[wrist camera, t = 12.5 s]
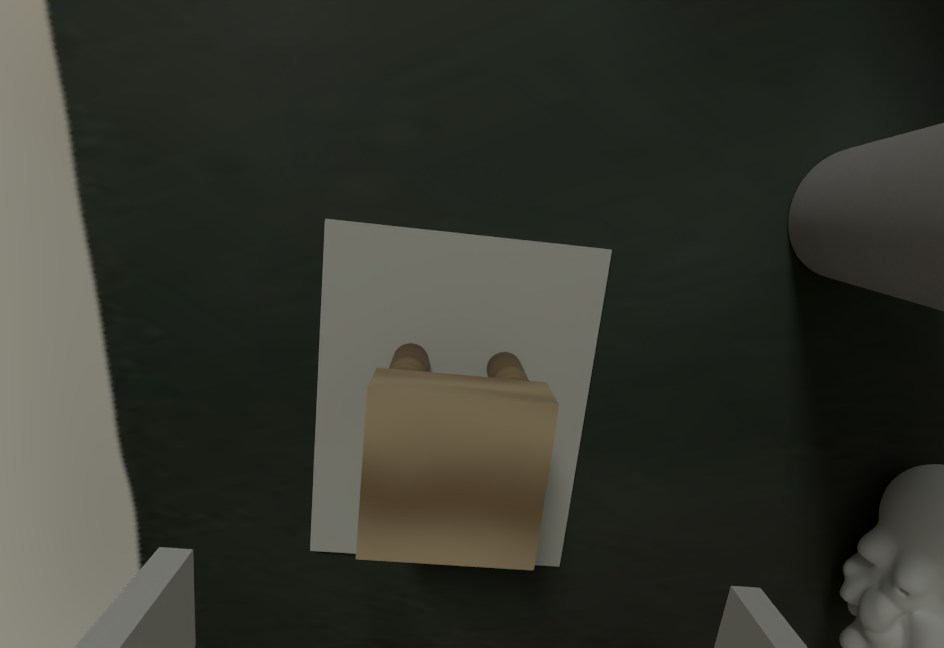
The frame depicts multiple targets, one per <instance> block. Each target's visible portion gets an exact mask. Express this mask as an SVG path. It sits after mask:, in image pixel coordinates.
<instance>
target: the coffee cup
mask: <svg viewBox="0 0 944 648" xmlns="http://www.w3.org/2000/svg"><path fill="white" fill-rule="evenodd" d="M788 231H789V237H790V241H791V244H792V247H793V249H794V251H795V253H796V255H797V256H798V258H799V259H800V260H801V262H802V263H803V264H804V265H805V266H806V267H808V268H809V269H810V270H812V271H813V272H815V273H817V274H819V275H822V276H825V277H828V278H831V279H835V280H838V281H842V282H845V283H848V284H852V285H855V286H859V287H862V288H866V289H869V290H872V291H876V292H879V293H883V294H886V295H890V296H893V297H896V298H900V299H903V300H907V301H910V302H914V303H917V304H920V305H924V306H927V307H931V308H934V309H938V310H941V311H944V123H942V124H938V125H934V126H931V127H927V128H923V129H920V130H916V131H912V132H908V133H905V134H901V135H897V136H894V137H890V138H886V139H883V140H879V141H875V142H871V143H868V144H864V145H860V146H857V147H853V148H849V149H846V150H843V151H840V152H837V153H835V154H833V155H831V156H829V157H827V158H825V159H824V160H822V161H821V162H820V163H818V164H817V165H816V166H815V167H814V168H813V169H812V170H811V171H810V172H809V173H808V174H807V175H806V176H805V178H804V179H803V180H802V182H801V183H800V185H799V187H798V188H797V190H796V192H795V195H794V197H793V200H792V203H791V206H790V210H789V217H788Z"/></svg>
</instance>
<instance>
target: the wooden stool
mask: <svg viewBox="0 0 944 648" xmlns="http://www.w3.org/2000/svg"><path fill="white" fill-rule="evenodd" d="M427 369H428V355H427V353H426V351H425V350H424V349H423V348H422V347H421V346H419V345H417V344H413V343H408V344H404V345H402V346H400V347H399V348H398V349H397V350H396V351H395V353H394V356H393V358H392V361H391V364H390V366H389V368H378V367H377V368H376V370H375V373H374V375H373V377H372V379H371V381H370V383H369V385H368V388H367V398H366V413H365V428H364V443H363V458H362V472H361V487H360V502H359V517H358V532H357V547H356V559H360V560H376V561H392V562H408V563H424V564H440V565H456V566H471V567H487V568H503V569H519V570H534V566H535V559H536V553H537V546H538V540H539V533H540V527H541V520H542V514H543V507H544V501H545V494H546V488H547V481H548V475H549V468H550V462H551V455H552V449H553V442H554V436H555V429H556V422H557V416H558V409H559V404H558V402H557V400H556V398H555V397H554V395H553V393H552V392H551V390H550V388H549V386H548V385H547V383H546V382H536V381H529V380H528V377H527V375H526V373H525V371H524V369H523V367H522V365H521V363H520V361H519V359H518V358H517V357H516V356H515V355H514V354H512V353H509V352H500V353H497V354H495V355H494V356H492V357H491V358H490V360H489V361H488V364H487V375H488V377H480V376H468V375H457V374H446V373H435V372H427Z"/></svg>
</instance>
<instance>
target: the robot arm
mask: <svg viewBox="0 0 944 648" xmlns="http://www.w3.org/2000/svg"><path fill="white" fill-rule="evenodd" d="M194 647H195V608H194V567H193V550H192V549H178V548H163V547H159V548H158V550H157V551H156V552H155V553H154V554H153V555H152V557H151V558H150V559H149V560H148V561H147V563H146V564H145V565H144V566H143V567H142V568H141V570H140V571H139V572H138V573H137V574H136V576H135V577H134V578H133V579H132V580H131V582H130V583H129V584H128V585H127V586H126V587H125V588H124V590H123V591H122V592H121V593H120V594H119V596H118V597H117V598H116V599H115V600H114V602H113V603H112V604H111V605H110V606H109V607H108V608H107V610H106V611H105V612H104V613H103V614H102V616H101V617H100V618H99V619H98V620H97V621H96V623H95V624H94V625H93V626H92V627H91V629H90V630H89V631H88V632H87V633H86V635H85V636H84V637H83V638H82V639H81V640H80V641H79V643H78V644H77V645H76V646H75V647H74V648H194ZM714 648H807V646H806V645H805V644H804V642H803V641H802V640H801V639H800V637H799V636H798V635H797V634H796V632H795V631H794V630H793V629H792V627H791V626H790V625H789V624H788V622H787V621H786V620H785V619H784V617H783V616H782V615H781V614H780V612H779V611H778V610H777V608H776V607H775V606H774V605H773V603H772V602H771V601H770V600H769V598H768V597H767V596H766V595H765V593H764V592H763V591H762V590H761V588H754V587H739V586H731V587H730V591H729V595H728V598H727V602H726V606H725V610H724V613H723V617H722V621H721V624H720V628H719V632H718V636H717V639H716V643H715V647H714Z"/></svg>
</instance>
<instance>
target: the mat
mask: <svg viewBox="0 0 944 648" xmlns="http://www.w3.org/2000/svg"><path fill="white" fill-rule="evenodd" d="M611 253H612V250H610V249H601V248H591V247H582V246H573V245H564V244H554V243H545V242H536V241H526V240H517V239H508V238H499V237H489V236H480V235H471V234H462V233H452V232H443V231H434V230H425V229H415V228H406V227H397V226H388V225H378V224H369V223H360V222H351V221H341V220H332V219H325V232H324V254H323V277H322V299H321V321H320V343H319V365H318V388H317V410H316V432H315V454H314V476H313V498H312V521H311V543H310V551H322V552H338V553H354V554H356V547H357V532H358V517H359V502H360V487H361V472H362V458H363V443H364V428H365V413H366V398H367V388H368V385H369V383H370V381H371V379H372V377H373V375H374V373H375V370H376V368H377V367H378V368H389V366H390V364H391V361H392V358H393V356H394V353H395V351H396V350H397V349H398V348H399V347H400V346H402V345H404V344H408V343H413V344H417V345H419V346H421V347H422V348H423V349H424V350H425V351H426V353H427V355H428V369H427V372H435V373H446V374H457V375H468V376H480V377H488V375H487V364H488V361H489V360H490V358H491V357H492V356H494V355H495V354H497V353H500V352H509V353H512V354H514V355H515V356H516V357H517V358H518V359H519V361H520V363H521V365H522V367H523V369H524V371H525V373H526V375H527V377H528V380H529V381H536V382H546V383H547V385H548V386H549V388H550V390H551V392H552V393H553V395H554V397H555V398H556V400H557V402H558V404H559V409H558V416H557V422H556V429H555V436H554V442H553V449H552V455H551V462H550V468H549V475H548V481H547V488H546V494H545V501H544V507H543V514H542V520H541V527H540V533H539V540H538V546H537V553H536V559H535V565H542V566H557V567H559V566H560V560H561V554H562V548H563V542H564V536H565V530H566V524H567V518H568V512H569V506H570V500H571V494H572V488H573V482H574V476H575V470H576V464H577V457H578V451H579V445H580V439H581V433H582V427H583V421H584V415H585V409H586V403H587V397H588V391H589V385H590V379H591V373H592V367H593V361H594V355H595V349H596V343H597V337H598V331H599V325H600V319H601V313H602V307H603V301H604V295H605V289H606V283H607V277H608V271H609V265H610V259H611Z"/></svg>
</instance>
